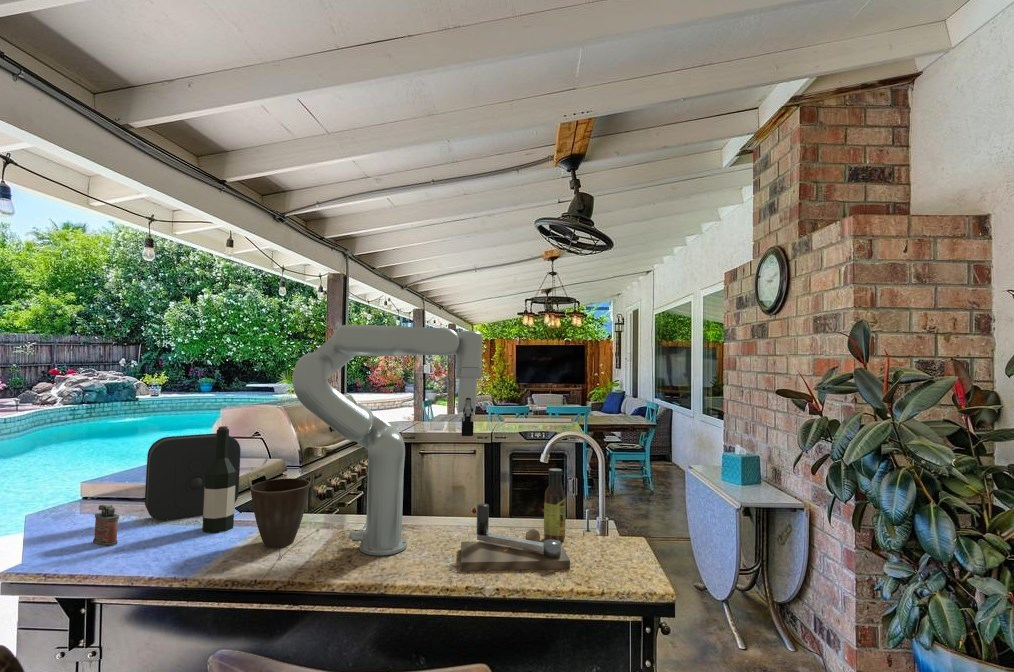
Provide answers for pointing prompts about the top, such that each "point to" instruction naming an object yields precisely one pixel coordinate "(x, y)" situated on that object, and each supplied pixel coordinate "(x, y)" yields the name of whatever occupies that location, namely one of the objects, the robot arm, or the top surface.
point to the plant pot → (279, 509)
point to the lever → (548, 547)
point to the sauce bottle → (554, 507)
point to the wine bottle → (219, 488)
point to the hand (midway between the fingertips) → (467, 433)
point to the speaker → (182, 474)
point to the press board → (508, 556)
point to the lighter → (106, 526)
